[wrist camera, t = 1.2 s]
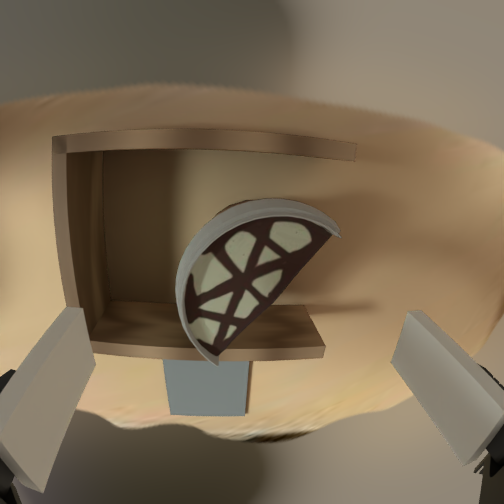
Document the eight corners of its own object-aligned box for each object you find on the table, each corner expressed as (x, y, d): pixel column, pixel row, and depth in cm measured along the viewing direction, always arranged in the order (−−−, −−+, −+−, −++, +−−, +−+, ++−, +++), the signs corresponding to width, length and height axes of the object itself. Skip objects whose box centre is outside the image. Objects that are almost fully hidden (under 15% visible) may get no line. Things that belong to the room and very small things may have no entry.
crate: (102, 310, 28) (77, 350, 21) (91, 138, 22) (52, 136, 16) (302, 315, 30) (322, 357, 23) (322, 144, 25) (356, 143, 18)
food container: (249, 154, 25) (268, 155, 15) (302, 201, 26) (348, 230, 17) (159, 263, 27) (132, 321, 17) (212, 302, 28) (212, 372, 19)
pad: (170, 412, 33) (170, 414, 32) (159, 316, 28) (158, 318, 28) (244, 413, 34) (244, 415, 33) (251, 318, 29) (252, 320, 29)
